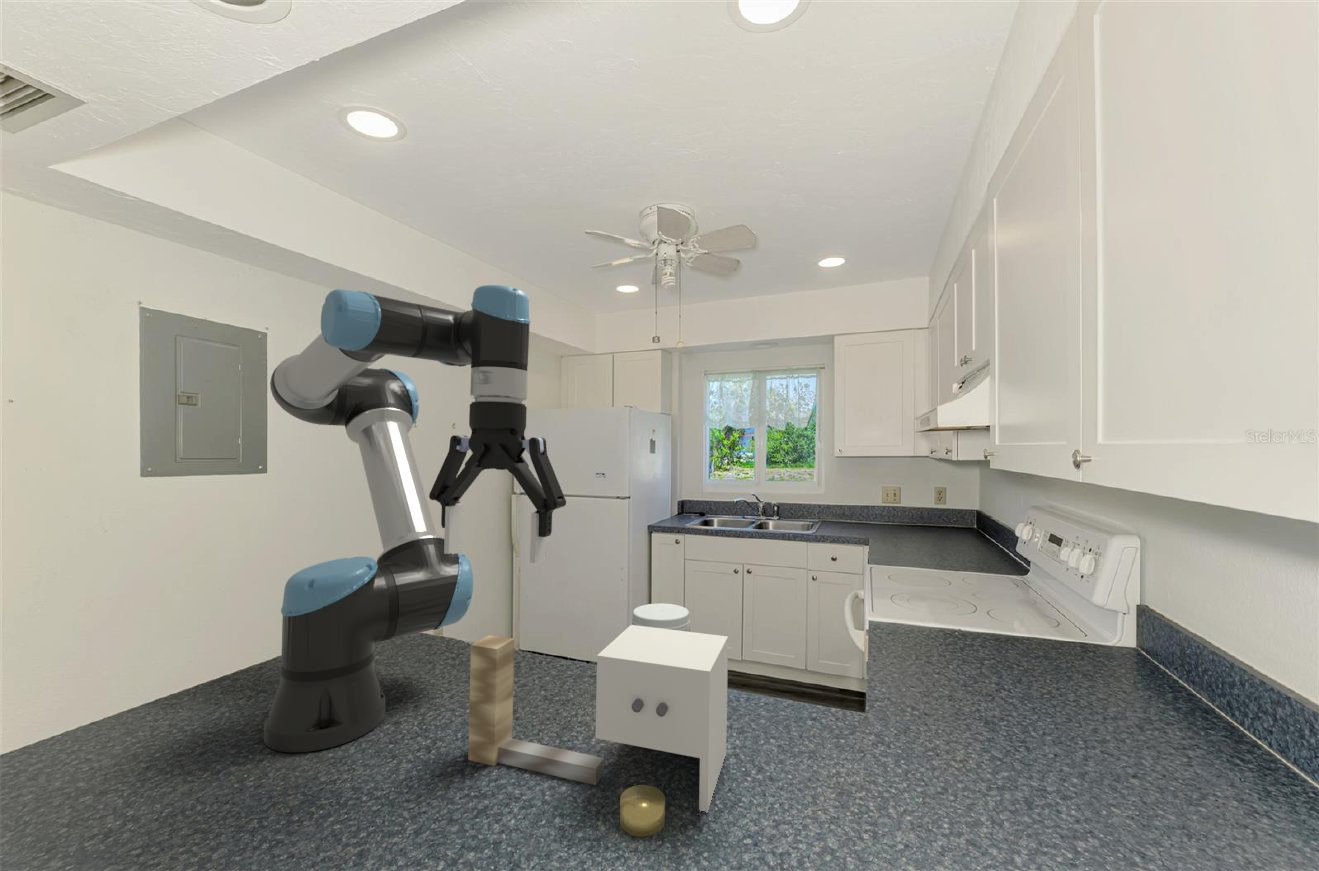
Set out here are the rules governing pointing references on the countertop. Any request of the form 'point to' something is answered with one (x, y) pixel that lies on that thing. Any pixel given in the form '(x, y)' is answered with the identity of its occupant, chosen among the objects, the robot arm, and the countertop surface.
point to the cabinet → (666, 696)
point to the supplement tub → (662, 617)
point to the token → (642, 810)
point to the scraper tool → (496, 718)
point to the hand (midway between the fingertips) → (494, 556)
